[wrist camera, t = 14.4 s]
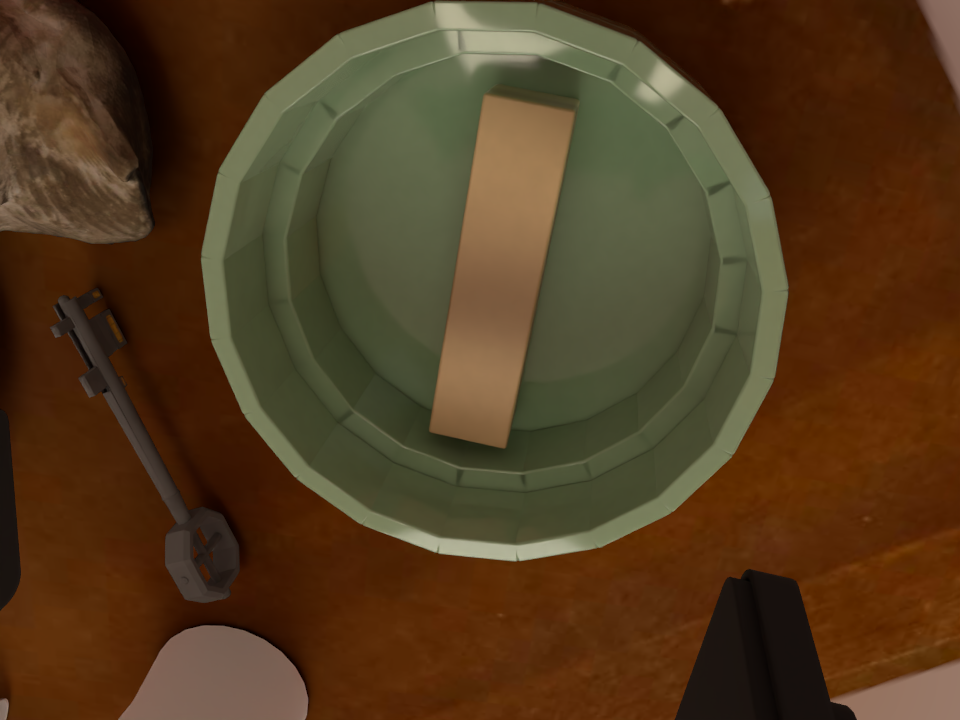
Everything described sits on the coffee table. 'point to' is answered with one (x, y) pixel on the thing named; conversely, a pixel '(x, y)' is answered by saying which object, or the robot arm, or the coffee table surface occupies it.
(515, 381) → the rectangular block
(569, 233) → the bowl
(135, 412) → the key
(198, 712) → the cup
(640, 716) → the coffee table surface
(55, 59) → the fossilized seashell
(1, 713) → the eyeglasses
